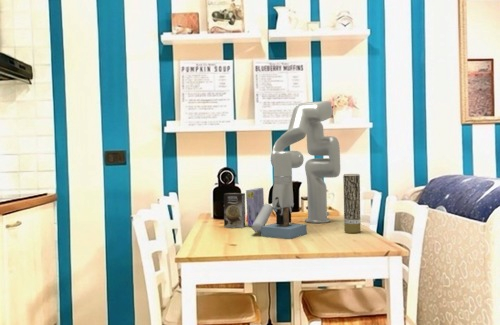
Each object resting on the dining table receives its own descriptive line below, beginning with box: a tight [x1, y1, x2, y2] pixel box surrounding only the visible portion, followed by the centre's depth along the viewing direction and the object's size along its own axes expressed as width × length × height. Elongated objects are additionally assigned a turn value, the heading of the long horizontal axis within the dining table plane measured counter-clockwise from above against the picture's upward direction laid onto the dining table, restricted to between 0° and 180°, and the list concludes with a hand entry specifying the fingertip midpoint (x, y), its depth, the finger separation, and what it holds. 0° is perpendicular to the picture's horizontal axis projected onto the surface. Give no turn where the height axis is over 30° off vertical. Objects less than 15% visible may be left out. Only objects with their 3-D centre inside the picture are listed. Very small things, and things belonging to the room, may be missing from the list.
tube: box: [251, 203, 274, 234], centre depth 205 cm, size 5×5×25 cm
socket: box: [260, 222, 308, 240], centre depth 195 cm, size 14×14×4 cm
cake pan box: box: [245, 187, 265, 228], centre depth 226 cm, size 19×5×18 cm, turn 165°
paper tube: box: [342, 173, 362, 234], centre depth 198 cm, size 7×7×25 cm
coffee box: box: [223, 192, 246, 229], centre depth 219 cm, size 9×6×16 cm
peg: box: [279, 207, 289, 227], centre depth 195 cm, size 4×4×12 cm
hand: (283, 223), depth 195 cm, fingers open, 5 cm apart
